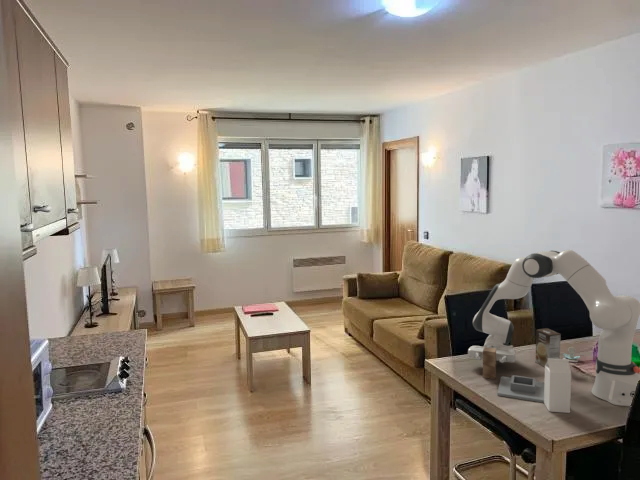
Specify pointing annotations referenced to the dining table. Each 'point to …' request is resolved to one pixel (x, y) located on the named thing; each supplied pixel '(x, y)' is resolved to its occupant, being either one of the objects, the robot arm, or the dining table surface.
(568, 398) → the milk carton
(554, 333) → the coffee box
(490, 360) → the walnut block
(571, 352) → the pacifier
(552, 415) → the dining table surface
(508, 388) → the socket base
